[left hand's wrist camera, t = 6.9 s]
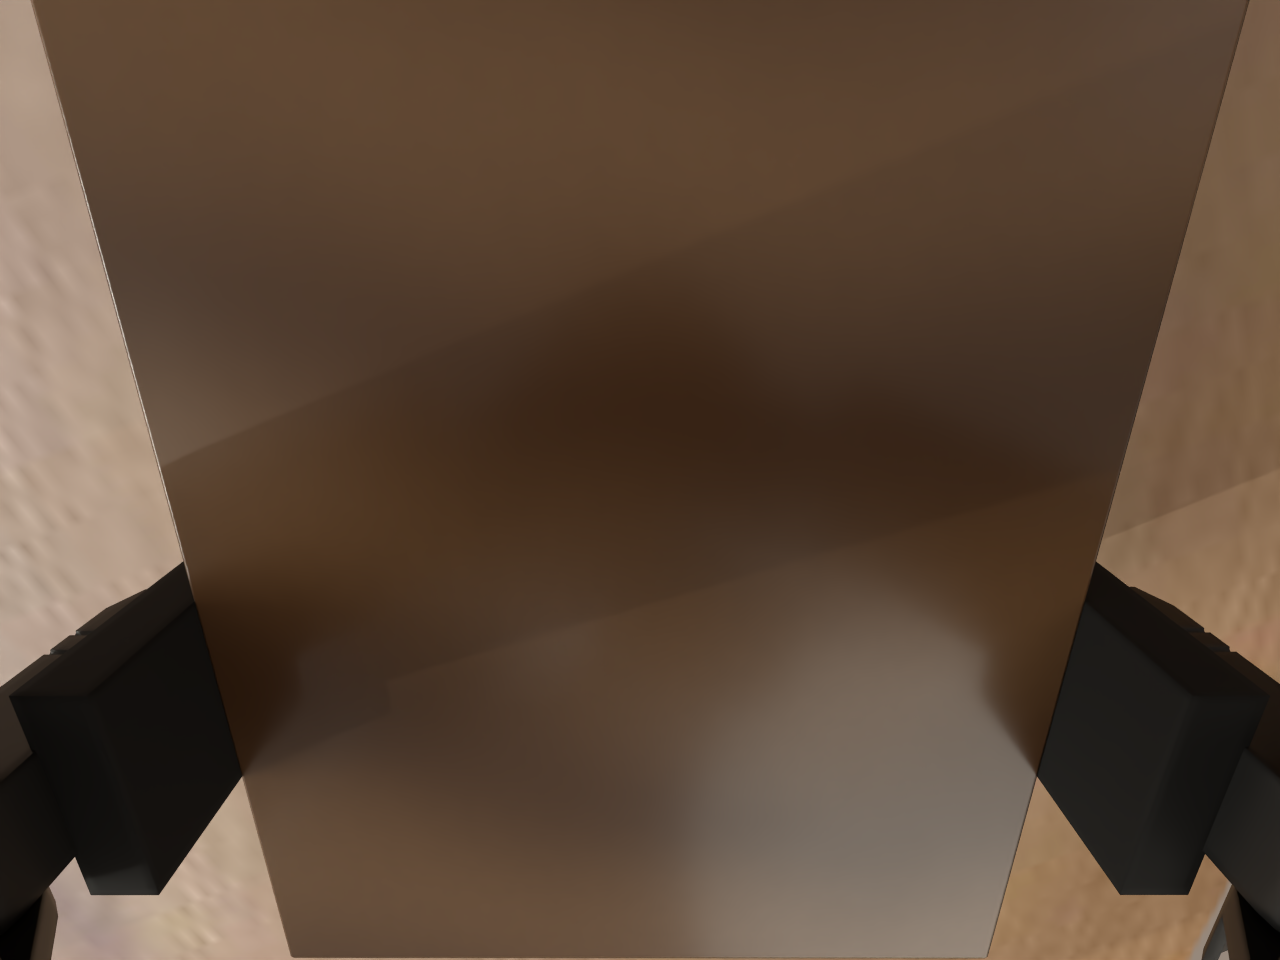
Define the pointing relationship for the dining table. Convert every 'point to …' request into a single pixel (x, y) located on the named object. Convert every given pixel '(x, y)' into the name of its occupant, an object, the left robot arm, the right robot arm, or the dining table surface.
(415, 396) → the cabinet
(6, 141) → the dining table surface
